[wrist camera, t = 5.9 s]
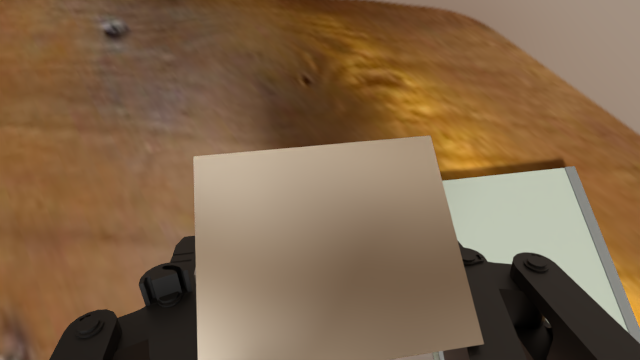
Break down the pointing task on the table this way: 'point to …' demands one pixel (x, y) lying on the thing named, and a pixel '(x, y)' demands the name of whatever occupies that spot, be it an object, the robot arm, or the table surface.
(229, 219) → the beige block
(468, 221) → the mat
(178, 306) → the robot arm
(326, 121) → the table surface
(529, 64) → the table surface
